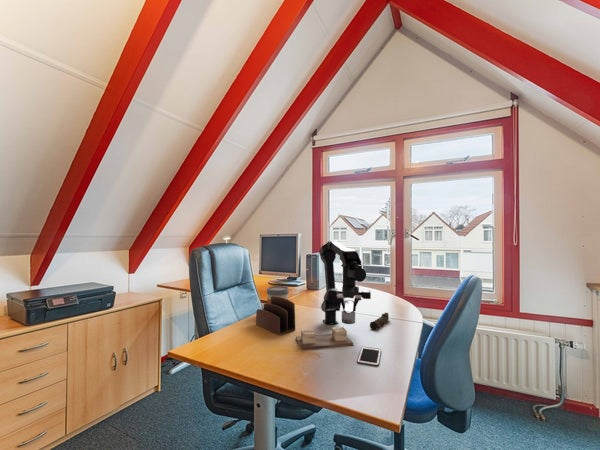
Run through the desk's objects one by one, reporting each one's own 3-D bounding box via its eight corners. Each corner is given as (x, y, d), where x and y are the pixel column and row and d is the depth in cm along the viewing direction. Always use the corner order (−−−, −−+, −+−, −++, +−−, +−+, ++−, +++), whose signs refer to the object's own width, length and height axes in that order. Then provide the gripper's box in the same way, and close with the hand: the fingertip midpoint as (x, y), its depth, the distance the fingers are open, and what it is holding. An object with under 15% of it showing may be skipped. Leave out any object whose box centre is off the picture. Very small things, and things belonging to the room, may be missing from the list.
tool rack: (295, 338, 126) (295, 327, 126) (342, 335, 131) (342, 324, 131) (301, 350, 114) (301, 337, 114) (353, 345, 119) (353, 333, 119)
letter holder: (271, 320, 151) (271, 294, 152) (295, 330, 136) (295, 301, 137) (255, 324, 145) (255, 296, 145) (279, 335, 130) (279, 304, 130)
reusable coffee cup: (262, 315, 159) (262, 288, 160) (275, 310, 170) (275, 285, 170) (280, 319, 153) (280, 291, 153) (293, 313, 163) (293, 287, 164)
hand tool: (377, 331, 136) (377, 321, 137) (369, 329, 139) (369, 319, 139) (393, 321, 151) (393, 312, 151) (385, 320, 153) (386, 311, 153)
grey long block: (344, 308, 140) (344, 299, 140) (355, 308, 139) (355, 300, 139) (341, 323, 117) (341, 313, 117) (355, 324, 116) (355, 314, 116)
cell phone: (381, 351, 114) (381, 348, 114) (378, 368, 100) (378, 365, 100) (361, 348, 117) (361, 346, 117) (356, 364, 103) (356, 361, 103)
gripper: (326, 280, 122) (326, 316, 122) (371, 282, 118) (371, 319, 118) (329, 276, 133) (329, 309, 133) (370, 277, 129) (370, 312, 129)
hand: (349, 312), depth 128 cm, fingers closed on grey long block, 3 cm apart
